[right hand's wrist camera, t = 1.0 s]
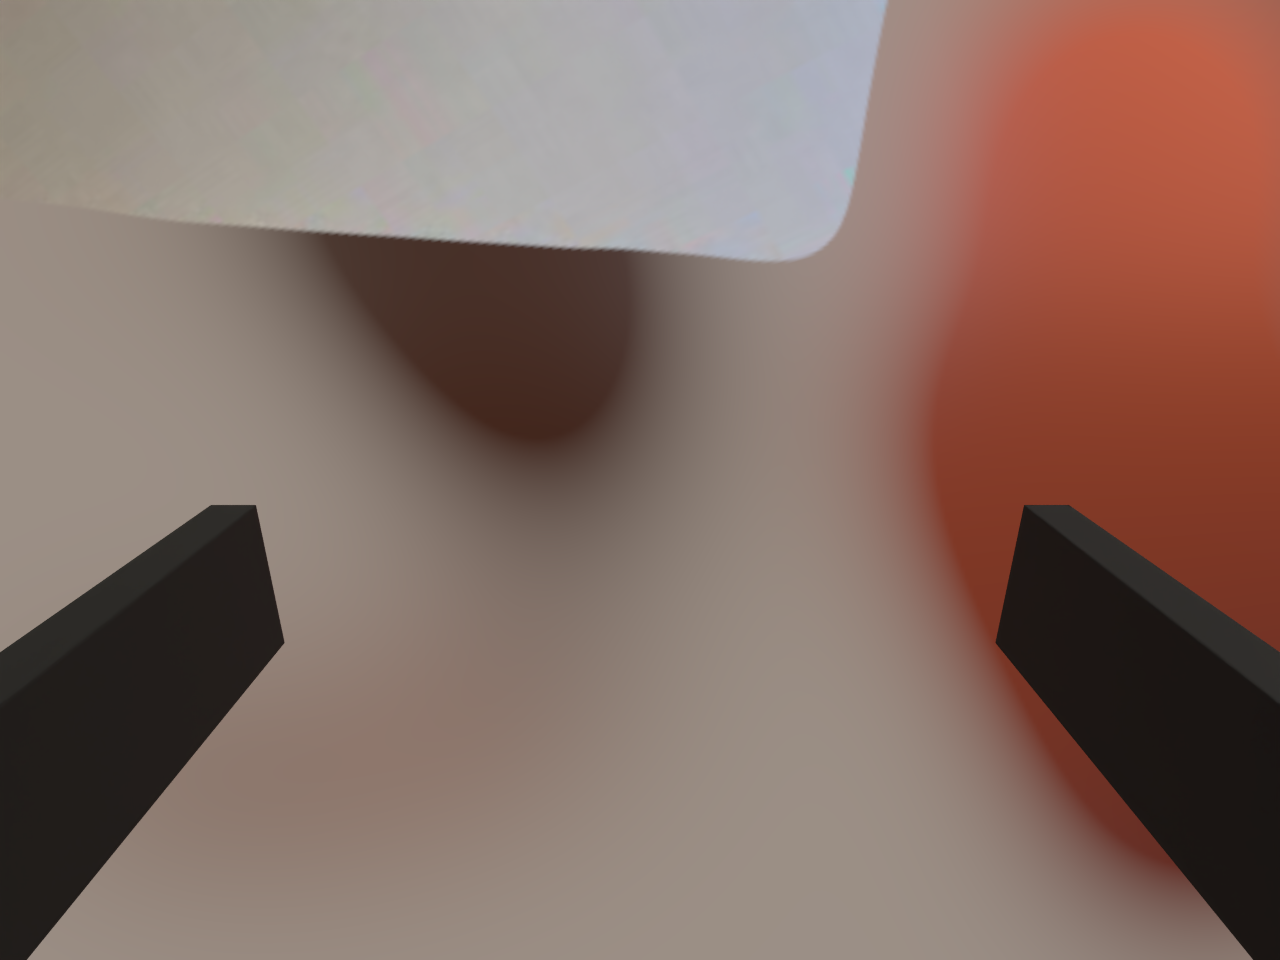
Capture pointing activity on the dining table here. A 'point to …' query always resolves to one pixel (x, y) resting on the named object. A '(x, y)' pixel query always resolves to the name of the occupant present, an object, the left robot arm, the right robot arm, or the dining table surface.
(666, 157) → the dining table surface
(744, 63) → the dining table surface
